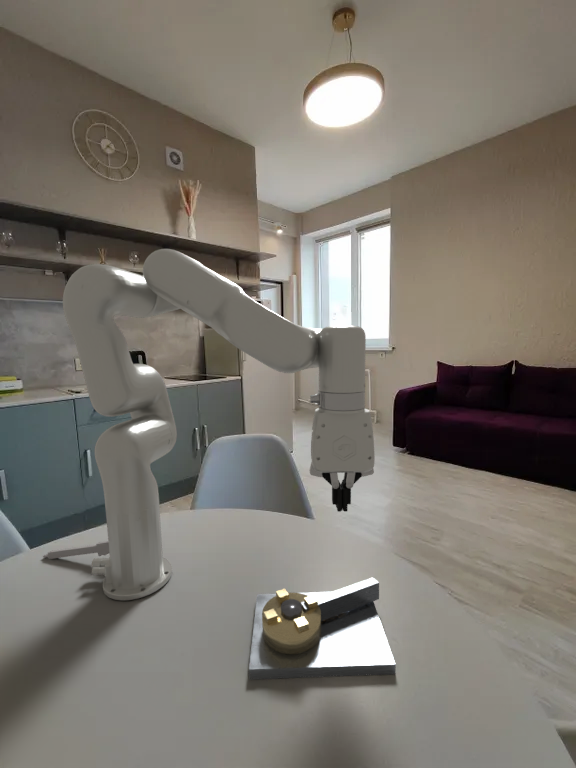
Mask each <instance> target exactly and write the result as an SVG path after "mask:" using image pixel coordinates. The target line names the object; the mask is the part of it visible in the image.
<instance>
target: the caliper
mask: <svg viewBox="0 0 576 768" xmlns="http://www.w3.org/2000/svg"><path fill="white" fill-rule="evenodd" d="M90 554H97V556H99V557H101V556H107V555H108V554H109V543H108V540H104V541H99V542H98V543H95V544H91V545H90V544H89V545H83V546H76V547H69V548H68V547H67V548H60V549H55V550H51V551H48V552H47V553H46V554H44V555H42V558H48V560H52V559H53V560H54V559H59V558H60V559H61V558H67V557H74V556H83V555H90Z"/></svg>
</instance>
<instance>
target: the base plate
mask: <svg viewBox="0 0 576 768" xmlns="http://www.w3.org/2000/svg"><path fill="white" fill-rule="evenodd" d="M329 592H330V591H317V592H316V591H314V592H313V591H312V592H311V591H310V592H300V593H301V594H304V595H307V596H311V595H314V597H318V596H321V595H324V594H327V593H329ZM275 596H276V593H257V594H256V600H255V608H254V609H255V611H254V618H253V619H254V620H253V629H252V630H253V631H252V638H251V647H250V648H251V649H250V657H249V665H248V676H249V678H248V680H271V679H275V680H277V679H300V678H301V679H302V678H326V677H329V678H330V677H331V678H332V677H359V676H382V675H383V676H384V675H396V673H397V672H396V662H395V659H394V655H393V653H392V651H391V647H390V645H389V642H388V638H387V636H386V634H385V631H384V628H383V624H382V621H381V619H380V616H379V613H378V610H377V608H376V605H375V601H373V602H370V603H368V604H365V605H362V606H360V607H357V608H355V609H352V610H349V611H347V612H344V613H342V614H339V615H336V616H334V617H331V618H329V619H326V620H323V621H321V636H320V638H319V640H318V642H317V643H316V644H315V645H314V646H313V647H312V648H311V649H309V650H307V651H305V652H302V653H298V654H285V653H281V652H278V651H276V650H274V649H272V648H271V647H270V646H269V645H268V644H267V643H266V641H265V640H264V637H263V626H262V611H263V608H264V606H265V605H266V603H267V602H268V601H269V600H270V599H272V598H273V597H275Z"/></svg>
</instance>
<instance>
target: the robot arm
mask: <svg viewBox="0 0 576 768" xmlns="http://www.w3.org/2000/svg"><path fill="white" fill-rule="evenodd" d="M243 289H244V288H242V287H241V286H239V285H238V284H237V283H235V282H234V281H231V280H230V279H228V278H227V277H224V276H222V275H220V274H219V273H217V272H215V271H214V270H212V269H210V268H208V267H207V266H205V265H204V264H202V263H201V262H200V261H198V260H196V259H194V258H192V257H190V256H188V255H187V254H184V253H182V252H180V251H178V250H175V249H170V248H161V249H160V248H159V249H156V250H154V251H152V252H151V253H150V254H149V255H148V256H147V257H146V259H145V260H144V263H143V266H142V274H139V273H135V272H132V271H129V270H126V269H123V268H120V267H117V266H113V265H107V264H101V263H95V264H94V263H93V264H87V265H84V266H81V267H80V268H78V269H77V270H76V271H74V272H73V273H72V274H71V276H70V277H69V279H68V280H67V282H66V285H65V287H64V290H63V296H62V307H63V315H64V317H65V321H66V323H67V326H68V328H69V332H70V333H71V336H72V339H73V342H74V344H75V348H76V352H77V354H78V359H79V363H80V368H81V371H82V375H83V378H84V383H85V386H86V390H87V393H88V397H89V400H90V402H91V403H90V404H91V406H92V407H93V409H94V410H95V412H96V413H98V414H99V415H101V416H104V417H117V416H119V417H120V416H123V415H127V414H130V417H131V419H129V420H125V421H122V422H120V423H117V424H115V425H114V424H113V425H111V426H110V427H109V428H107V429H105V430H104V431H103V432H102V433H101V434H100V435H99V436H98V439H97V441H96V443H95V446H94V457H95V462H96V466H97V469H98V472H99V475H100V478H101V483H102V484H101V485H102V489H103V497H104V506H105V517H106V527H107V528H106V529H107V541H108V543H109V557H95V558H93V559H92V561H91V576H100V575H103V576H104V579H103V581H102V591H103V593H104V595H105V596H106V597H107V598H109V599H112V600H114V601H115V600H116V601H131V600H138V599H140V598H144V597H147V596H149V595H151V594H153V593H155V592H157V591H158V590H160V589H162V587H164V586H165V585H166V583H168V582H169V580H170V579H171V576H172V574H173V566H172V563H171V561H170V560H169V559H167V558H165V557H164V554H163V551H164V550H163V541H162V540H163V539H162V525H161V524H162V523H161V511H160V510H161V509H160V495H159V485H158V482H157V479H156V478H155V477H156V476H154V474H153V471H152V470H151V469H152V468H151V464H152V463H153V462H154V463H155V462H156V461H157V460H159V459H160V458H163V457H164V456H165V455H168V454H169V453H170V452H171V451H172V450H173V448H174V447H175V445H176V442H177V437H178V434H177V433H178V432H177V425H176V421H175V416H174V414H173V409H172V405H171V402H170V397H169V396H170V395H169V393H168V388H167V386H166V383H165V381H164V378H163V377H162V375H161V374H160V373H159V371H158V370H156V368H154V367H153V366H150V365H148V364H144V363H134V362H133V360H132V356H131V353H130V351H129V349H130V348H129V345H128V342H127V339H126V336H125V334H124V333H123V332H122V330H121V329H120V327H119V325H117V323H116V321H115V319H114V316H121V317H129V318H139V319H144V318H151V317H155V316H160V315H163V314H166V313H170V312H174V311H177V310H182V311H183V312H185V313H187V314H188V315H190V316H192V317H193V318H195V319H197V320H198V321H200V322H202V323H203V324H205V325H207V326H208V327H210V328H212V329H213V330H214V331H215V332H216V333H217V334H218V335H220V336H221V337H223V338H224V339H225V340H226V341H227V342H229V343H230V344H232V345H233V346H234V347H235V348H237V349H238V350H240V351H242V353H243V352H244V353H245V354H247V355H248V356H250V357H252V358H254V359H255V360H257V361H258V362H260V363H261V364H264V365H265V366H267V367H268V368H271V369H272V370H274V371H276V372H279V373H284V374H296V373H298V372H300V371H305V370H308V369H316V368H318V392H316V393H315V394H310V396H309V399H310V401H309V403H310V404H315V405H317V406H318V408H315V410H314V413H313V419H312V420H313V421H312V426H311V438H310V439H311V440H310V457H311V462H310V467H309V474H310V475H311V476H313V477H317V478H322V479H324V480H325V482H327V483H328V484H329V485H331V503H332V505H335V508H336V510H337V512H339V513H340V512H342V511H343V512H348V507H349V506H348V505H351V504H352V489H353V487H354V485H355V484H356V483H357V482H358V481H359V480H360V479H361V478H363V477H367V476H368V477H369V476H371V475H372V476H373V474H374V473H375V470H374V467H375V462H376V461H375V442H374V441H375V440H374V438H375V437H374V427H373V420H372V414H371V410H369V409H368V408H366V345H367V343H366V342H367V341H366V339H367V338H366V332H365V330H364V329H363V328H362V327H360V326H357V325H330V326H325V327H323V328H315V327H306V326H302V325H299V324H296V323H294V322H292V321H290V320H289V319H286V318H285V317H283V316H281V315H279V314H278V313H276V312H275V311H273V310H271V309H269V308H268V307H266V306H265V305H262V304H261V303H259V302H258V301H256V300H255V299H253V298H252V297H250V296H249V295H248V294H246V293H245V291H244V290H243ZM338 473H342V474H343V473H344V474H343V479H342V481H341V482H340V480H339V474H338Z"/></svg>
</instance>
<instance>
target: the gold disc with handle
mask: <svg viewBox="0 0 576 768" xmlns="http://www.w3.org/2000/svg"><path fill="white" fill-rule="evenodd" d="M328 592H329V593H327V594H324V595H321V596H318V597H314V595H311V596H307V595H304V594H301V593H302V592H288V591H287V590H286V588H282V589H279V590H276V591H275V594H276V596H275V597H273V598H272V599H270V600H269V601H268V602H267V603H266V605H265V606H264V608H263V611H262V626H263V637H264V640H265V641H266V643H267V644H268V645H269V646H270V647H271V648H272V649H274V650H276V651H278V652H281V653H285V654H298V653H302V652H305V651H307V650H309V649H311V648H312V647H313V646H314V645H315V644H316V643H317V642H318V640H319V638H320V636H321V621H323V620H326V619H329V618H331V617H334V616H336V615H339V614H342V613H344V612H347V611H349V610H352V609H355V608H357V607H360V606H362V605H365V604H368V603H370V602H375V601H378V600H379V599H380V582H379V581H378V580H377V579H376V578H375V577H373V576H372V577H370V578H367V579H364V580H361V581H358V582H355V583H353V584H350V585H348V586H343V587H342V588H339V589H335V590H332V591H328Z"/></svg>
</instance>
